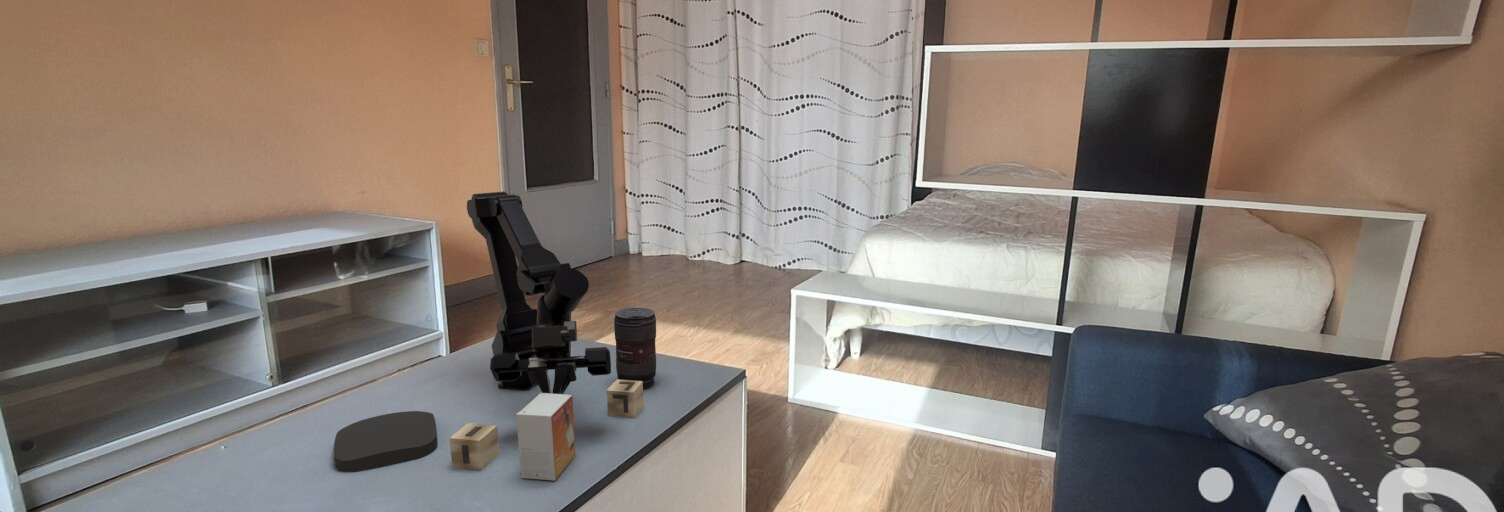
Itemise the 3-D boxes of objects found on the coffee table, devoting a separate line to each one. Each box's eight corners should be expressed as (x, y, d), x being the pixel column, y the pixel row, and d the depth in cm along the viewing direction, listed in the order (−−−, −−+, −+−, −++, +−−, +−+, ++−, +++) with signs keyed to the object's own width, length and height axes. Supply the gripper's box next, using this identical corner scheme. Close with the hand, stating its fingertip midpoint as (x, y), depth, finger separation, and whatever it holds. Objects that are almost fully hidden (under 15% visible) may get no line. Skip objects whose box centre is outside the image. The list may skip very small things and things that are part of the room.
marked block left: (451, 468, 105) (448, 437, 104) (470, 451, 110) (468, 422, 109) (481, 471, 104) (478, 440, 103) (499, 454, 109) (496, 425, 108)
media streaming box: (333, 479, 102) (330, 461, 102) (339, 437, 115) (337, 421, 114) (439, 456, 109) (438, 439, 108) (434, 419, 121) (432, 404, 121)
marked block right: (607, 416, 122) (606, 389, 121) (617, 404, 127) (616, 378, 126) (634, 418, 121) (633, 392, 120) (643, 406, 126) (642, 380, 125)
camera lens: (662, 388, 134) (660, 315, 131) (621, 394, 131) (618, 320, 128) (652, 373, 141) (649, 304, 138) (613, 379, 138) (610, 308, 135)
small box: (555, 482, 101) (550, 416, 99) (519, 479, 102) (514, 414, 99) (577, 455, 109) (573, 393, 106) (544, 452, 109) (539, 391, 107)
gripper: (487, 306, 108) (478, 400, 100) (607, 300, 111) (608, 391, 103) (499, 337, 117) (493, 425, 109) (610, 330, 120) (611, 416, 112)
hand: (551, 414), depth 108 cm, fingers closed
